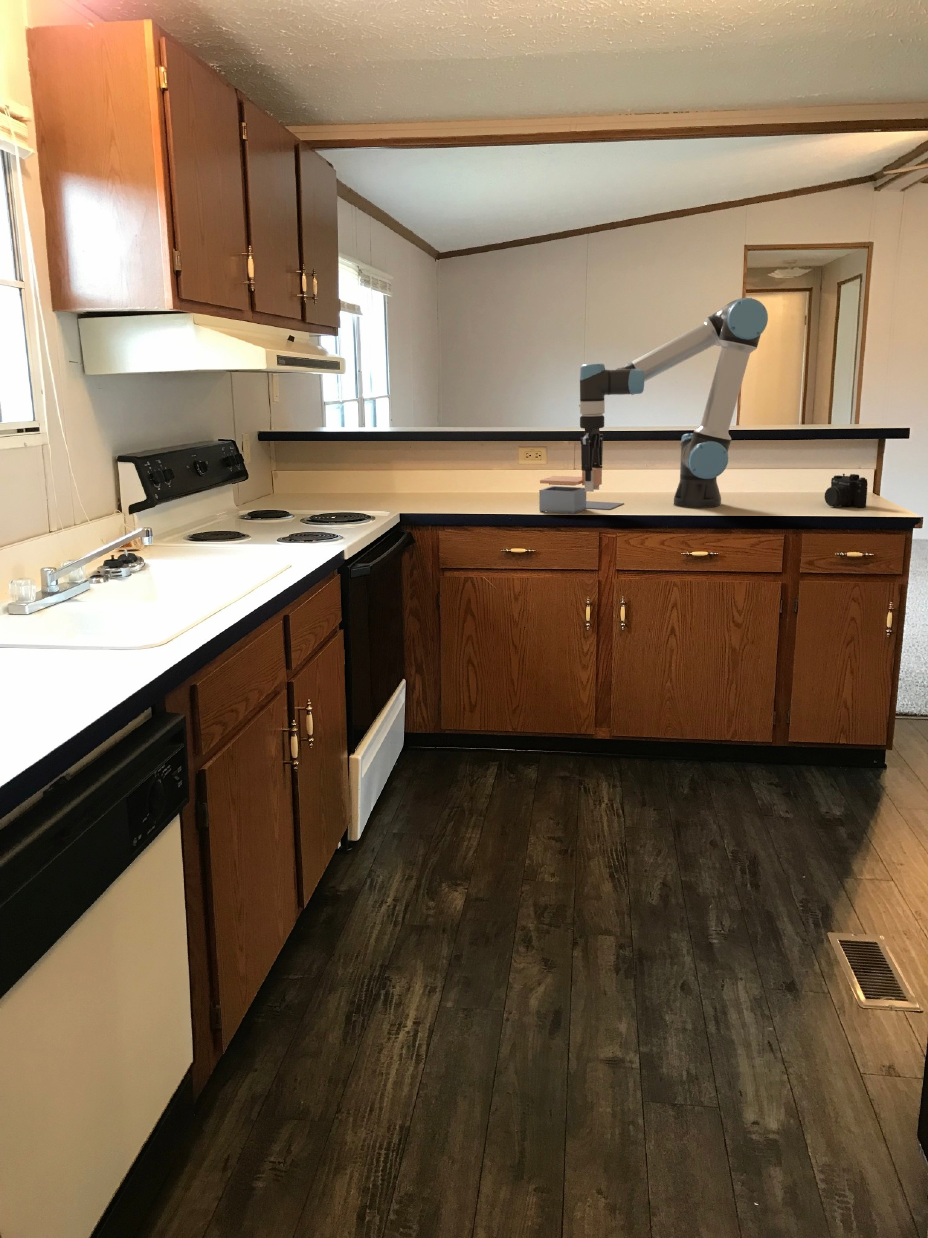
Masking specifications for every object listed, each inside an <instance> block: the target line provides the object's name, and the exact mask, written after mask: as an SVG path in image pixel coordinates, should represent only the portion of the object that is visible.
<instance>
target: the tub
mask: <svg viewBox="0 0 928 1238" xmlns="http://www.w3.org/2000/svg"><path fill="white" fill-rule="evenodd" d="M538 491H539V493H538V494H539V495H538V498H539V499H538V500H539V501H538V504H539V509H538V510H539V511H547V512H546V513H550V512H558V513H557V514H566V513H570V514H571V515H575V514H578V513H580V512H579V511H581V512H583V511H586V510H587V509H586V501H587V492H586V491H585V487H581V486H578V487H577V486H564V485H551V486H548V487H544V488H541V489H539V490H538ZM585 509H586V510H585ZM539 511H538V512H539ZM577 512H578V513H577Z"/></svg>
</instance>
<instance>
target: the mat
mask: <svg viewBox="0 0 928 1238" xmlns="http://www.w3.org/2000/svg"><path fill="white" fill-rule="evenodd" d="M624 504H625V503H624V502H610V501H591V500H586V510H587V509H588V510H591V509H592V510H602V511H603V510H604V511H605V510H607V511H610V510H611V511H612V510H613V509H616V508H618V507H621V506H623V505H624Z"/></svg>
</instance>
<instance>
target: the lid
mask: <svg viewBox="0 0 928 1238" xmlns="http://www.w3.org/2000/svg"><path fill="white" fill-rule="evenodd" d="M592 471H594V486H598V485H599V486H600V485H603V478H602V477H603V467H602V468H592ZM539 483H540V484H545V485H546V484H548V485H549V486H550V485H551V486H570V487H576V486H579V485H582V486H585V471H582V470H581V476H569V475H568V476H565V475H552V476H549V477H545V478H543V479H539Z"/></svg>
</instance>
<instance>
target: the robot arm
mask: <svg viewBox="0 0 928 1238" xmlns="http://www.w3.org/2000/svg"><path fill="white" fill-rule="evenodd" d="M768 320H769V313H768V311H767V308H766V306H765V305H764V304H763V303H762V302H761V301H760V300H758V299H755V298H752V297H741V298H739V299H736V300H732V301H730V302H729V303H727V304H726V305H725V306H724V307H722V308H720V309H719V310H718V311H716V312H714V313H712V314H711V315H709V316H708V317H706V318H705V320H704V322H703V323H702V324H699V325H698V326H696V327H694V328H692V329H690V330H688V331H687V332H684V333H683V334H680V335H678V336H677V337H675V338H673V339H672V340H669V341H668V342H666V343H663V344H661V345H660V346H658V347H656V348H654V349H653V350H651V351H649V352H647V353H645V354H643V355H642V356H639V357H638V358H636V359H634V360H632V361H631V362H628V363H627V364H625V365H623V366H621V367H617V368H615V369H606V367H605V364H604V363H584V364H582V365H581V366H580V371H579V405H578V407H579V411H580V412H579V414H580V415H581V416H579V428H581V429H584V434H583V437H580V438H579V440H580V452H581V453H580V454H581V455H580V456H581V457H580V459H581V463H580V464H581V467H580V468H581V472H582V471H585V485H584V488H585V491H586V493H587V492H589V493H591V492H594V490H595V491H596V490H600V485H598V486H594V471H592V468H602V469H603V451H604V449H603V448H604V447H603V446H604V445H603V443H604V438H605V437H604V434H603V433H601V431H600V429H604V427H605V416H604V414H605V413H606V412H605V402H606V401H605V396H606V395H607V396H610V395H613V396H614V395H615V396H616V395H618V396H621V395H622V396H623V395H631V396H633V395H641V394H642V393H643V392H644V390H645V389H644V388H645V382H647V381H648V380H650V379H652V378H655V377H657V376H658V375H661V374H663V373H664V372H666V371H668V370H670V369H672V368H673V367H675V366H678V365H679V364H681V363H683V362H685V361H687V360H689V359H690V358H691V359H692V358H693V357H695V356H697V355H698V354H700V353H702V352H704V351H705V350H708V349H710V348H712V347H713V346H717V347H720V346H721V347H720V349H721V350H720V352H719V356H718V360H717V364H716V367H715V371H714V375H713V378H712V382H711V387H710V390H709V393H708V397H707V401H706V404H705V408H704V413H703V416H702V419H701V424H700V426H699V427H697V428H695V429H694V430H693V433H684V434H683V435H681V440H680V446H681V447H680V469H679V471H680V472H679V482H678V485H677V488H676V491H675V494H674V497H673V505H674V506H677V507H682V508H698V509H699V508H701V509H702V508H715V507H719V506H721V505H722V497H721V493H720V489H719V485H718V481H717V479H718V478H717V477H719V476H720V475H722V474H723V473H724V472H725V470H726V468H727V466H728V463H729V453H728V452H729V450H730V445H731V442H732V437H731V435H730V434H729V430H730V426H731V423H732V420H733V415H734V413H735V412H734V411H735V410H736V406H737V402H738V398H739V394H740V391H741V388H742V384H743V380H744V378H745V373H746V370H747V366H748V363H749V362H748V361H749V358H750V355H751V353H753V352H754V351H755V350H757V349H758V346H759V342H760V339H761V335H762V334H763V333H764V331H765V330H766V328H767V325H768V322H769V321H768Z"/></svg>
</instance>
